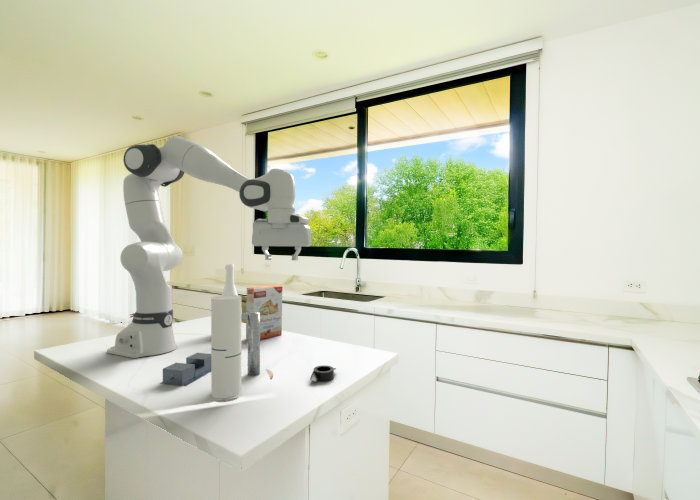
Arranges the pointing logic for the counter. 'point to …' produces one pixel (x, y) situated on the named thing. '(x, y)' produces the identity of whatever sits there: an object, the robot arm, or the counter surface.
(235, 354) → the cylindrical container
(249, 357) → the brushed metal post
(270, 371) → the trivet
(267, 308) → the cracker box
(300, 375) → the counter surface
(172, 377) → the vise
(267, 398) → the counter surface
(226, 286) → the white long rounded piece
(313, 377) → the black round winged cup
